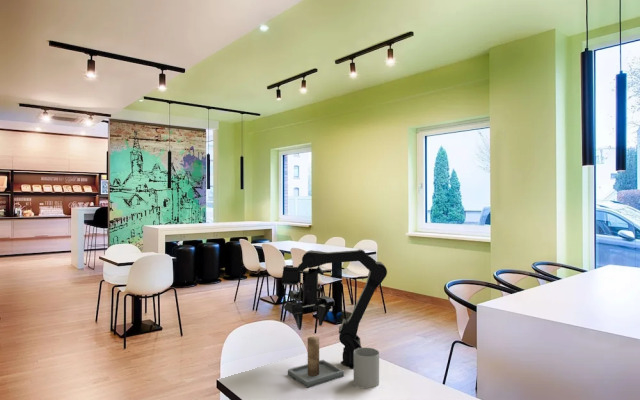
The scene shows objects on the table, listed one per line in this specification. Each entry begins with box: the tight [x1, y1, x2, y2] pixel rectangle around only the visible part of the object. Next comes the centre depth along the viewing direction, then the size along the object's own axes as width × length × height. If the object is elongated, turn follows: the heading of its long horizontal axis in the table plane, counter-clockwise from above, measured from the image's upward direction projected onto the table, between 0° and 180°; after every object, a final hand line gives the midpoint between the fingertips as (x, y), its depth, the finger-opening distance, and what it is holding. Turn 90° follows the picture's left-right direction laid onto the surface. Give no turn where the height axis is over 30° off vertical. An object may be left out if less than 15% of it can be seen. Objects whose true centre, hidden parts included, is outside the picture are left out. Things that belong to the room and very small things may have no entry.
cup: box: [353, 347, 380, 389], centre depth 133 cm, size 8×8×10 cm
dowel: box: [307, 336, 320, 376], centre depth 137 cm, size 4×4×12 cm
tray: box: [287, 359, 345, 389], centre depth 138 cm, size 15×12×2 cm
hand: (310, 327), depth 148 cm, fingers open, 9 cm apart
